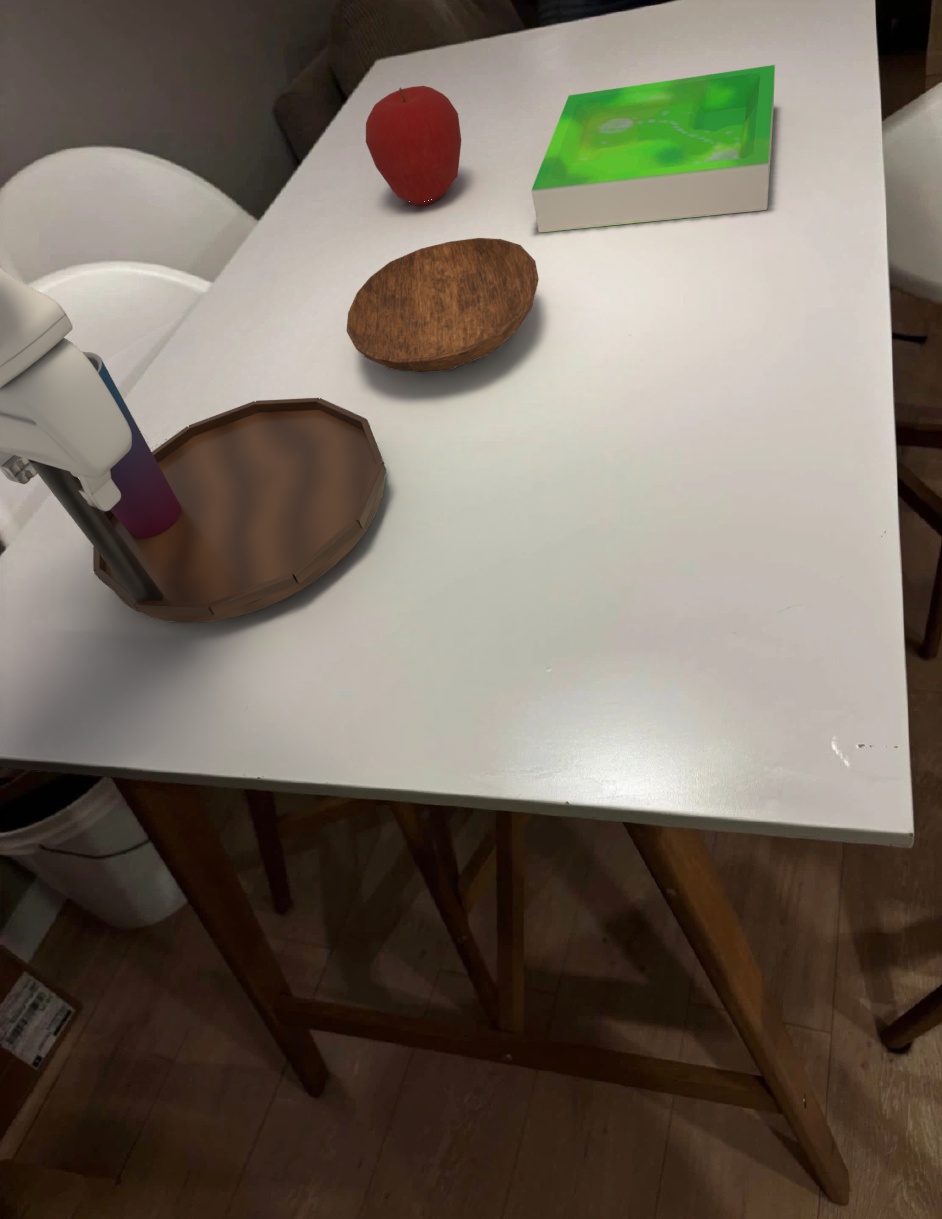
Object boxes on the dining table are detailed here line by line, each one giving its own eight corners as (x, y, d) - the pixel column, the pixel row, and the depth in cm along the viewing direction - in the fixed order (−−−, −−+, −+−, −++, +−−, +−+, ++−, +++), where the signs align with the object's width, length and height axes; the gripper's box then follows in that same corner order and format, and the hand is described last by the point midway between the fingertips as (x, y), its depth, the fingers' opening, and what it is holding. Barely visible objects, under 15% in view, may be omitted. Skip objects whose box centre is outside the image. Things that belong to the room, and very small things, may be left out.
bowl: (547, 266, 97) (539, 222, 94) (545, 387, 83) (536, 341, 79) (376, 296, 101) (362, 255, 98) (346, 416, 87) (329, 374, 84)
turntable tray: (105, 667, 70) (-29, 516, 57) (105, 475, 87) (2, 328, 75) (416, 550, 70) (349, 376, 58) (354, 383, 88) (292, 222, 76)
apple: (472, 209, 110) (446, 94, 101) (382, 228, 112) (348, 117, 103) (474, 167, 118) (450, 56, 108) (390, 185, 120) (359, 79, 110)
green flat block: (538, 232, 103) (531, 189, 99) (574, 135, 118) (568, 95, 114) (767, 209, 95) (768, 162, 91) (773, 108, 110) (774, 64, 106)
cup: (103, 535, 79) (0, 398, 68) (154, 485, 82) (64, 346, 71) (154, 553, 76) (55, 412, 65) (205, 500, 79) (119, 357, 68)
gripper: (-192, 330, 57) (-50, 490, 67) (-6, 372, 47) (127, 552, 57) (-112, 276, 60) (12, 437, 70) (79, 305, 50) (190, 488, 60)
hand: (65, 489), depth 63 cm, fingers open, 8 cm apart
